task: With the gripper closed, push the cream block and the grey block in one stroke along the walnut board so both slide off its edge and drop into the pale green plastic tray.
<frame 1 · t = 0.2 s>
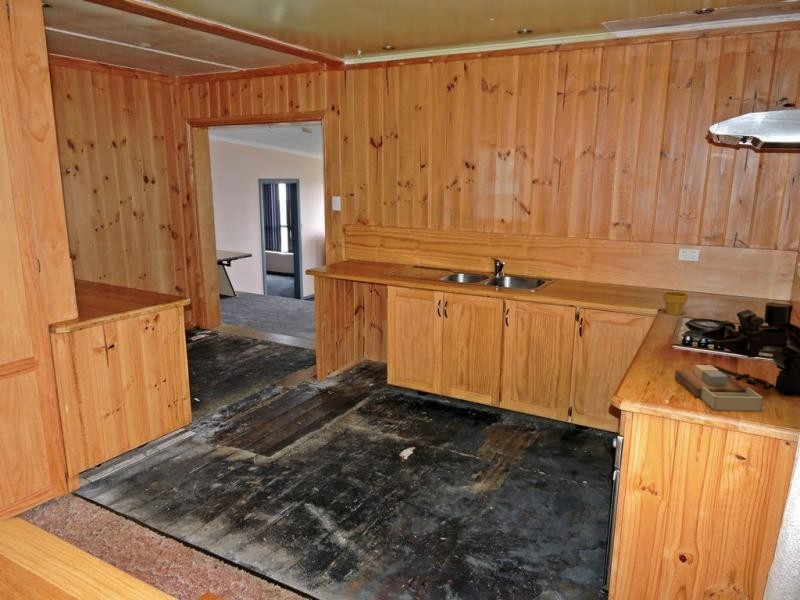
hand: (708, 338, 167), 17 cm above the countertop, tool horizontal, fingers open, 9 cm apart
plant pot: (673, 313, 263), on the countertop
cream block: (705, 376, 174), point 3 cm above the countertop, touching board
knife: (732, 377, 183), on the countertop
board: (708, 388, 172), on the countertop
grey block: (714, 382, 168), point 3 cm above the countertop, touching board
tray: (730, 404, 160), on the countertop
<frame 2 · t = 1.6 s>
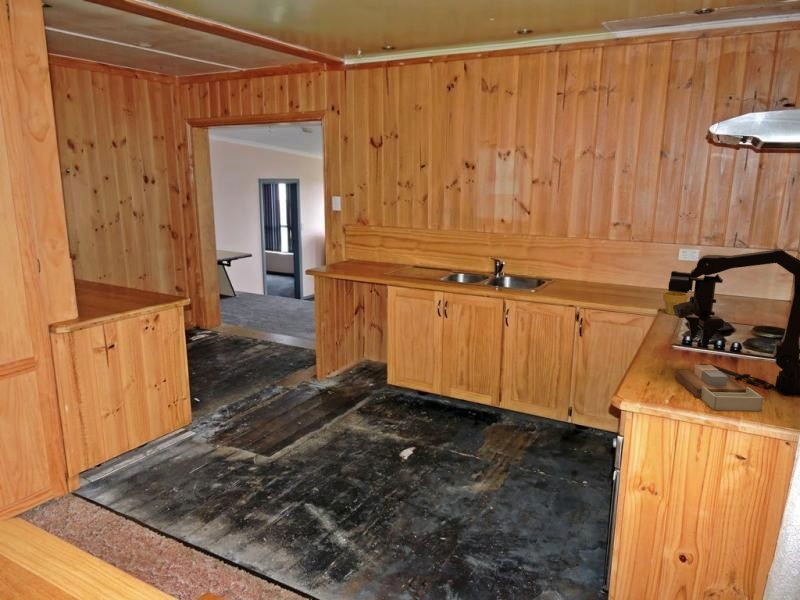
hand: (698, 341, 179), 12 cm above the countertop, tool pointing down, fingers open, 8 cm apart
nothing on the countertop moved.
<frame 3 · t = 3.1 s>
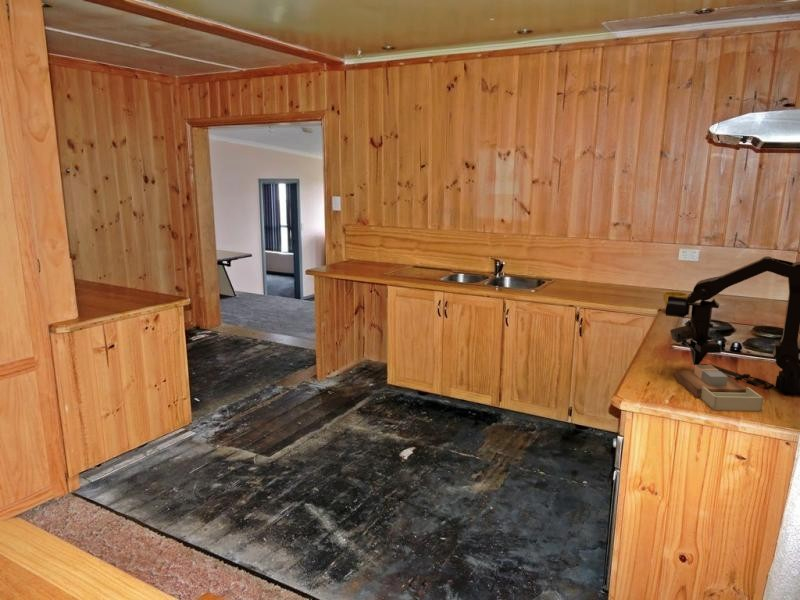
hand: (695, 365, 181), 4 cm above the countertop, tool pointing down, fingers closed
nothing on the countertop moved.
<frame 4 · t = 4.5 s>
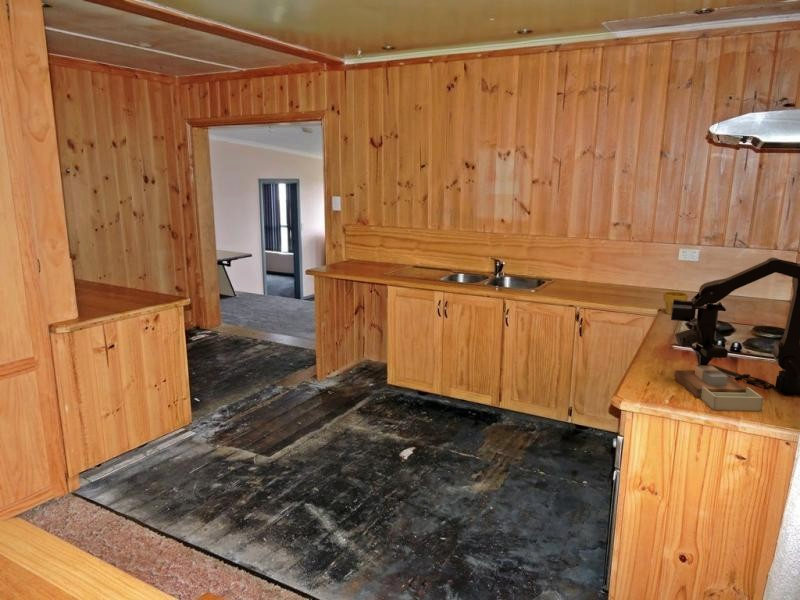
hand: (701, 369, 177), 4 cm above the countertop, tool pointing down, fingers closed
cream block: (706, 377, 173), point 3 cm above the countertop, touching gripper
everything else where it was.
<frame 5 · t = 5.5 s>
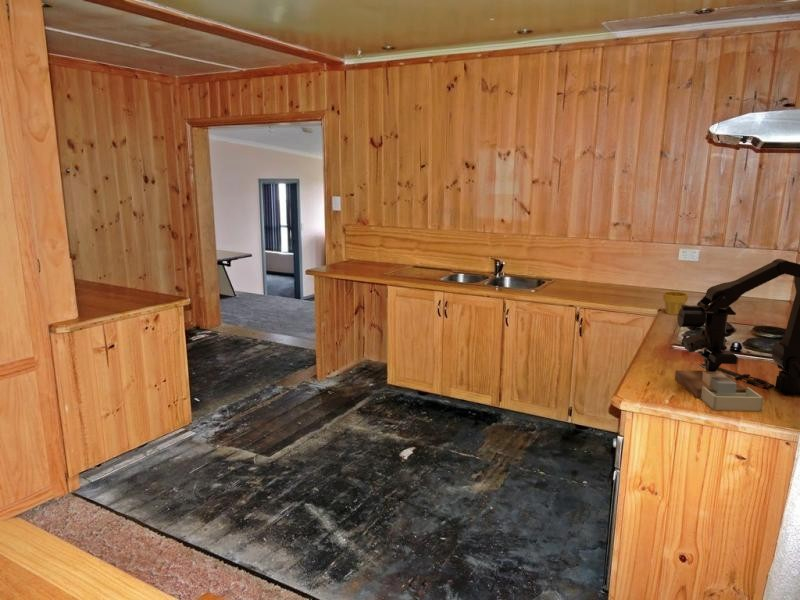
hand: (709, 376, 171), 4 cm above the countertop, tool pointing down, fingers closed
cream block: (714, 383, 168), point 3 cm above the countertop, touching gripper
grey block: (722, 389, 163), point 3 cm above the countertop
everything else where it was.
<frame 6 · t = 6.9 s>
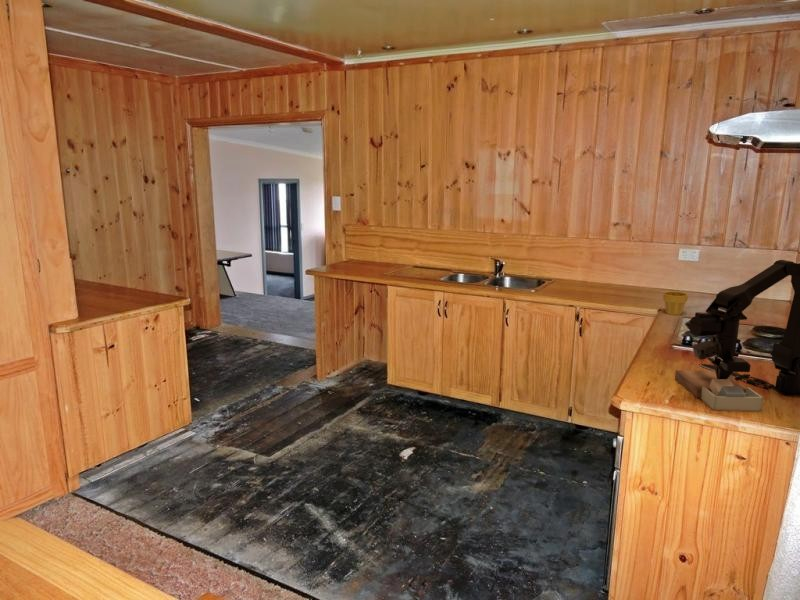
hand: (720, 384, 164), 4 cm above the countertop, tool pointing down, fingers closed
cream block: (721, 392, 162), point 2 cm above the countertop, tilted 25°, touching gripper, grey block
grey block: (729, 392, 159), point 4 cm above the countertop, tilted 115°, touching cream block
everything else where it was.
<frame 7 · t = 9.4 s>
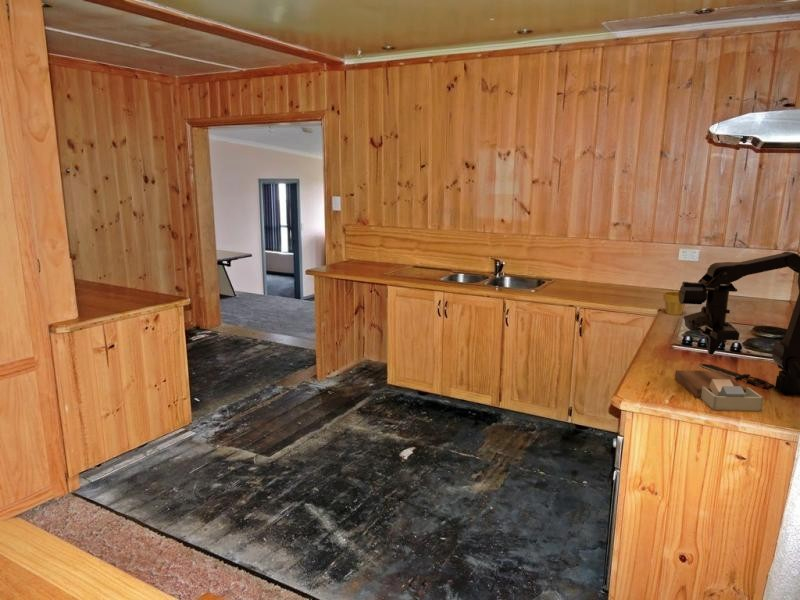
hand: (710, 354, 170), 11 cm above the countertop, tool pointing down, fingers closed
cream block: (721, 392, 162), point 2 cm above the countertop, tilted 25°, touching board, grey block
grey block: (729, 392, 159), point 4 cm above the countertop, tilted 115°, touching cream block, tray
everything else where it was.
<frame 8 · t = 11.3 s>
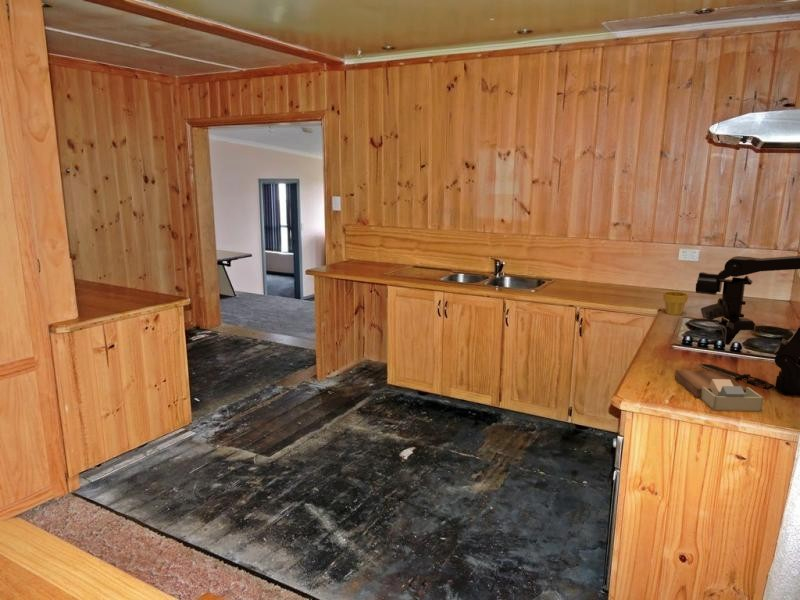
hand: (726, 344, 176), 12 cm above the countertop, tool pointing down, fingers closed
nothing on the countertop moved.
at the end: cream block inside the target area on the tray (3.5 cm from its centre), point 2.4 cm above the tray's base; grey block inside the target area on the tray (0.8 cm from its centre), point 3.9 cm above the tray's base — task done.
